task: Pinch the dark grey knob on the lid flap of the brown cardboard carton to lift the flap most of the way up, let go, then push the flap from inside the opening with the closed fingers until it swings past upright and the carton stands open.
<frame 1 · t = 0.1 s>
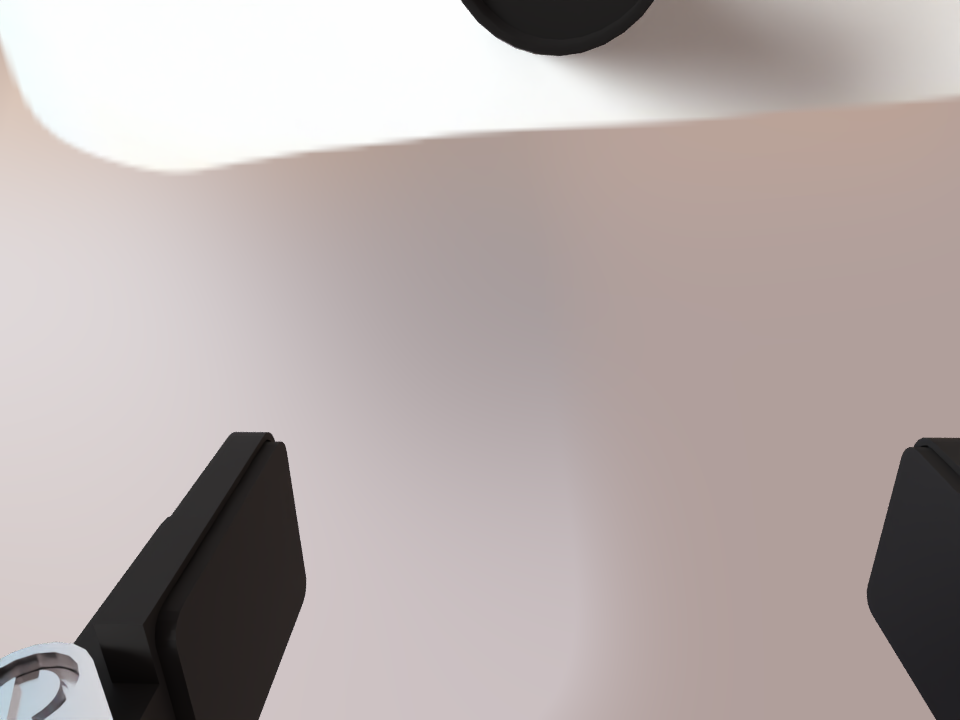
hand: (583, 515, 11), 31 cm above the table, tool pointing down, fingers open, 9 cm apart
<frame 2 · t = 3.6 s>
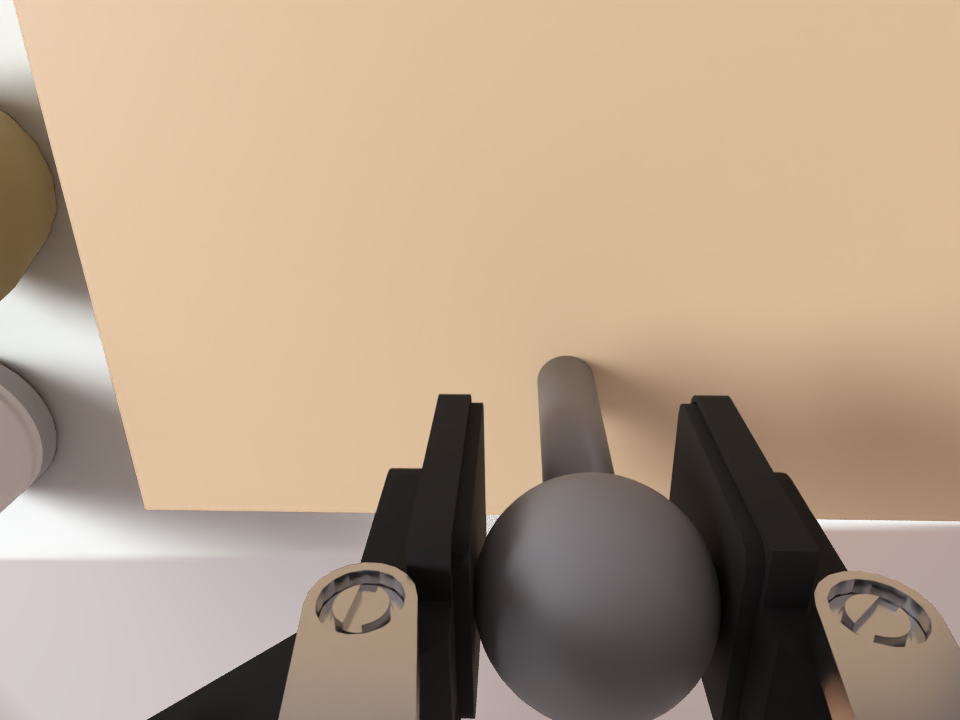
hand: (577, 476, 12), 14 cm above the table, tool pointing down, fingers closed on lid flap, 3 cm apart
lid flap: (590, 209, 10), point 14 cm above the table, hinge at 0.0°, touching gripper
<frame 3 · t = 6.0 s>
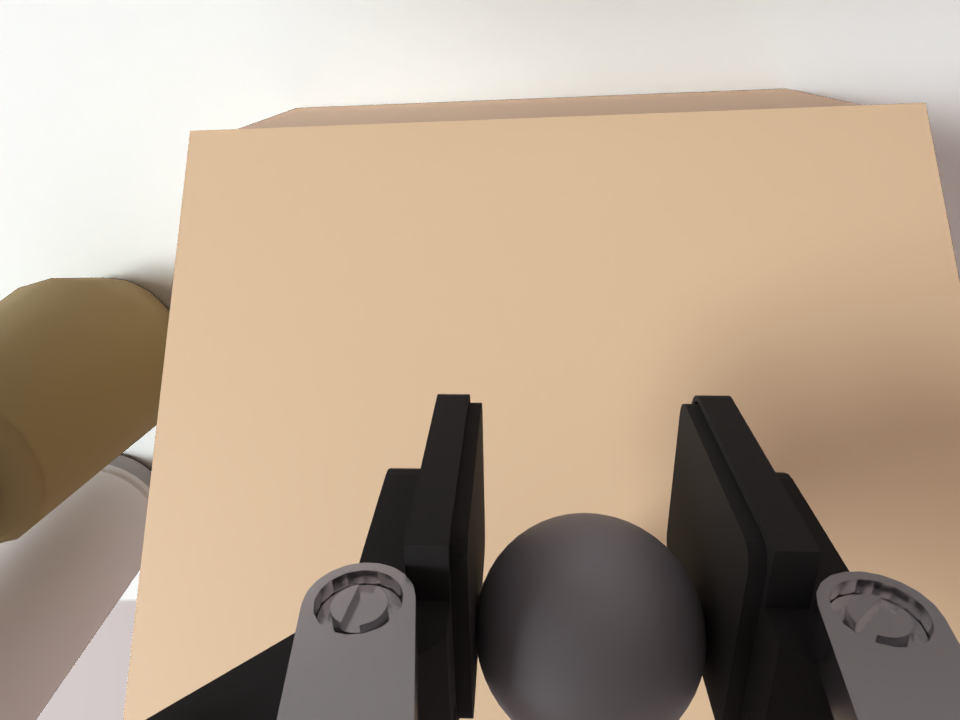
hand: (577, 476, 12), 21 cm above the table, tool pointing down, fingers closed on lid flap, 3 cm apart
carton: (537, 284, 33), on the table
lid flap: (565, 367, 14), point 19 cm above the table, hinge at 39.8°, touching gripper
squeeze bottle: (125, 332, 35), on the table
travel mug: (115, 496, 39), on the table
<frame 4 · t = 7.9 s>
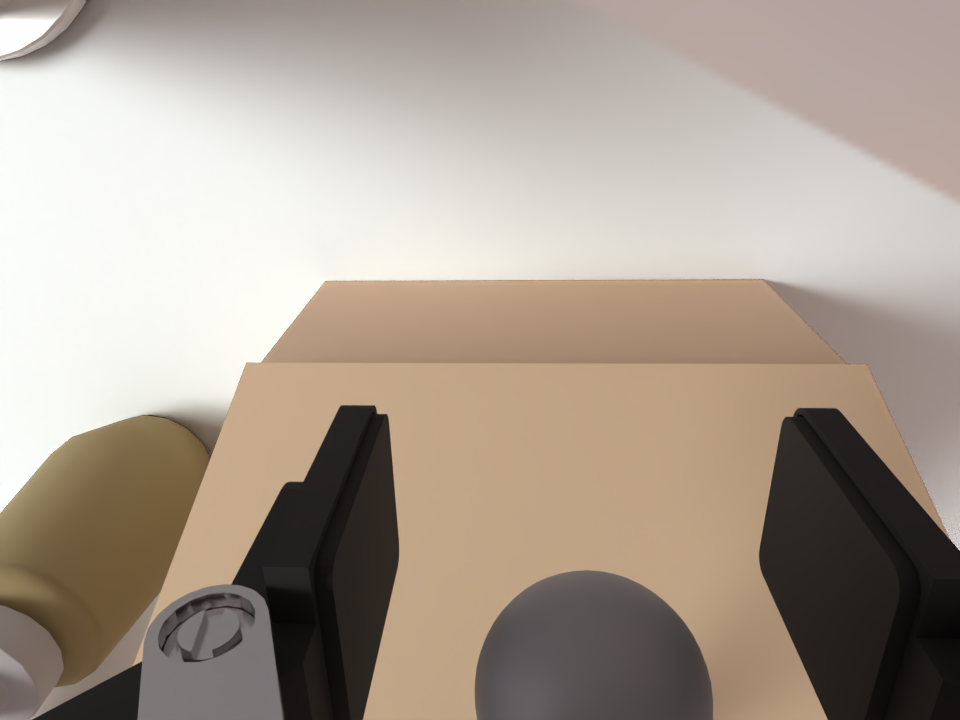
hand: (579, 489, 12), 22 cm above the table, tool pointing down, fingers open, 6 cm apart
carton: (538, 432, 36), on the table
lid flap: (566, 515, 15), point 19 cm above the table, hinge at 68.9°
squeeze bottle: (162, 459, 38), on the table
travel mug: (145, 597, 42), on the table
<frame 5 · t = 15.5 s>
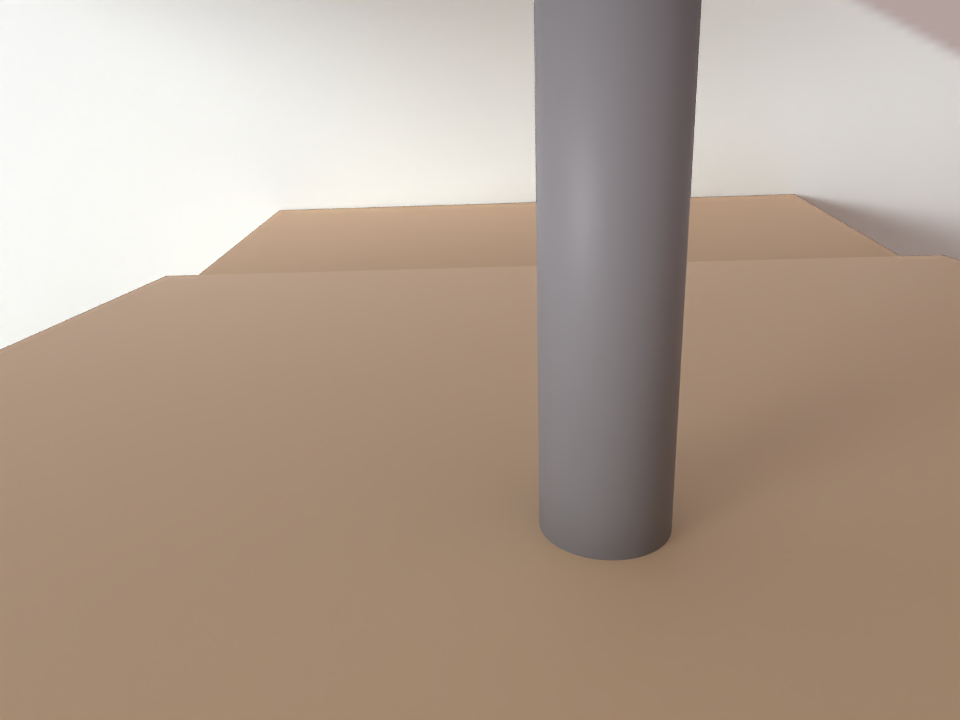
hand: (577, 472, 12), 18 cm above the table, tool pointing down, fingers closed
carton: (533, 385, 31), on the table
lid flap: (568, 107, 10), point 18 cm above the table, hinge at 96.7°, touching gripper
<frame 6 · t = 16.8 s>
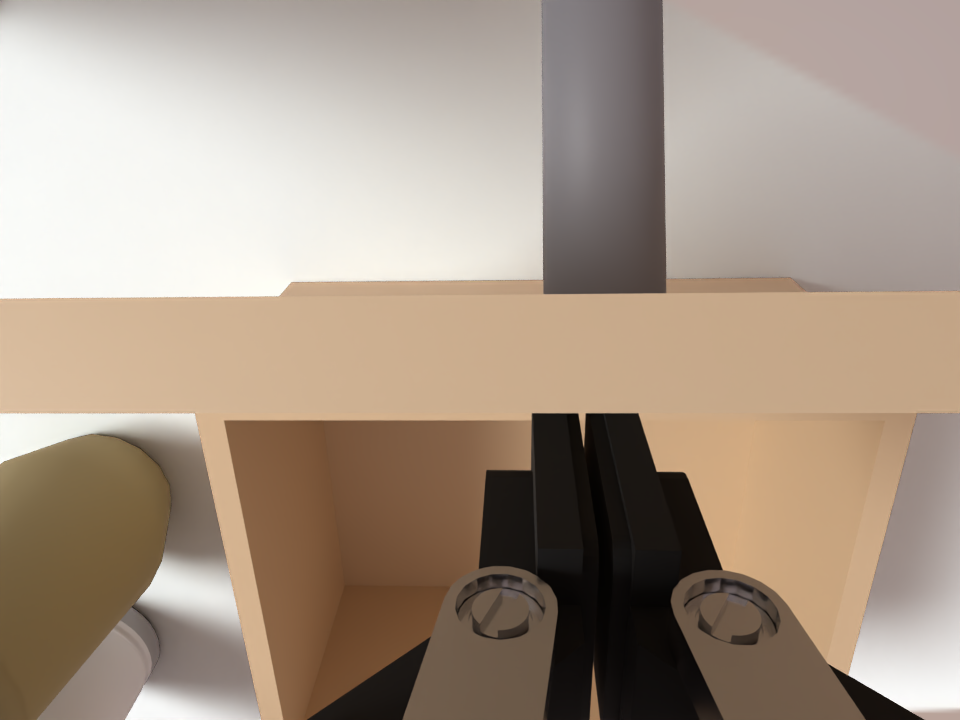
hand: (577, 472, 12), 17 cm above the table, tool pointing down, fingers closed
carton: (535, 450, 32), on the table
lid flap: (568, 137, 12), point 15 cm above the table, hinge at 117.3°, touching gripper
squeeze bottle: (114, 482, 34), on the table
travel mug: (102, 633, 38), on the table
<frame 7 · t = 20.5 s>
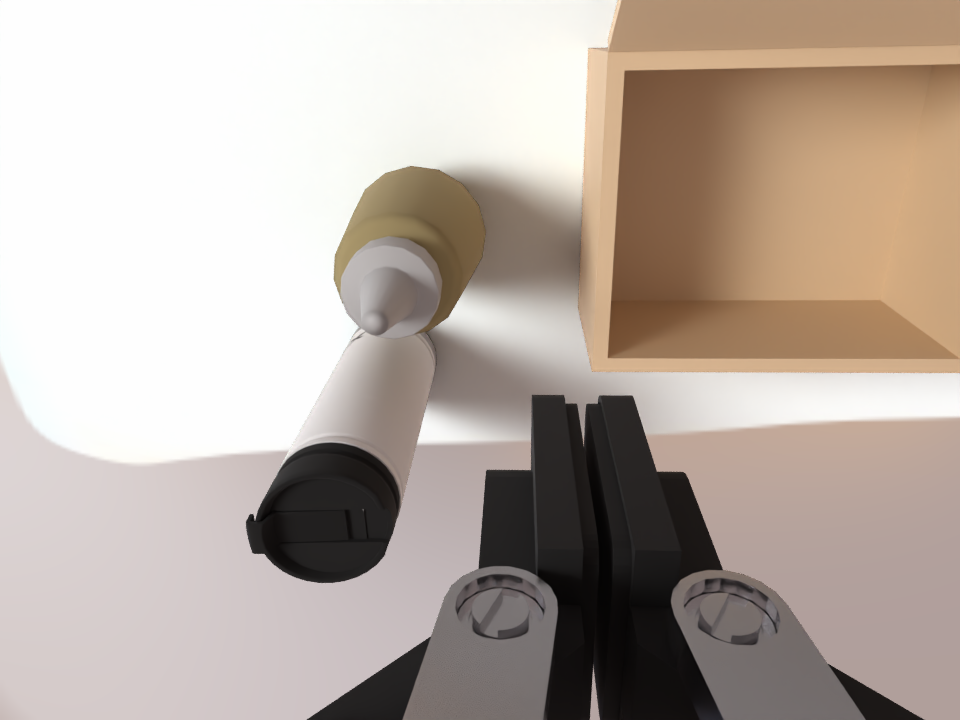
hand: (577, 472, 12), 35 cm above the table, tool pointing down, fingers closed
carton: (745, 185, 44), on the table
squeeze bottle: (426, 219, 46), on the table
travel mug: (390, 355, 50), on the table
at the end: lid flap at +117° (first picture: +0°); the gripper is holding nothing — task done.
